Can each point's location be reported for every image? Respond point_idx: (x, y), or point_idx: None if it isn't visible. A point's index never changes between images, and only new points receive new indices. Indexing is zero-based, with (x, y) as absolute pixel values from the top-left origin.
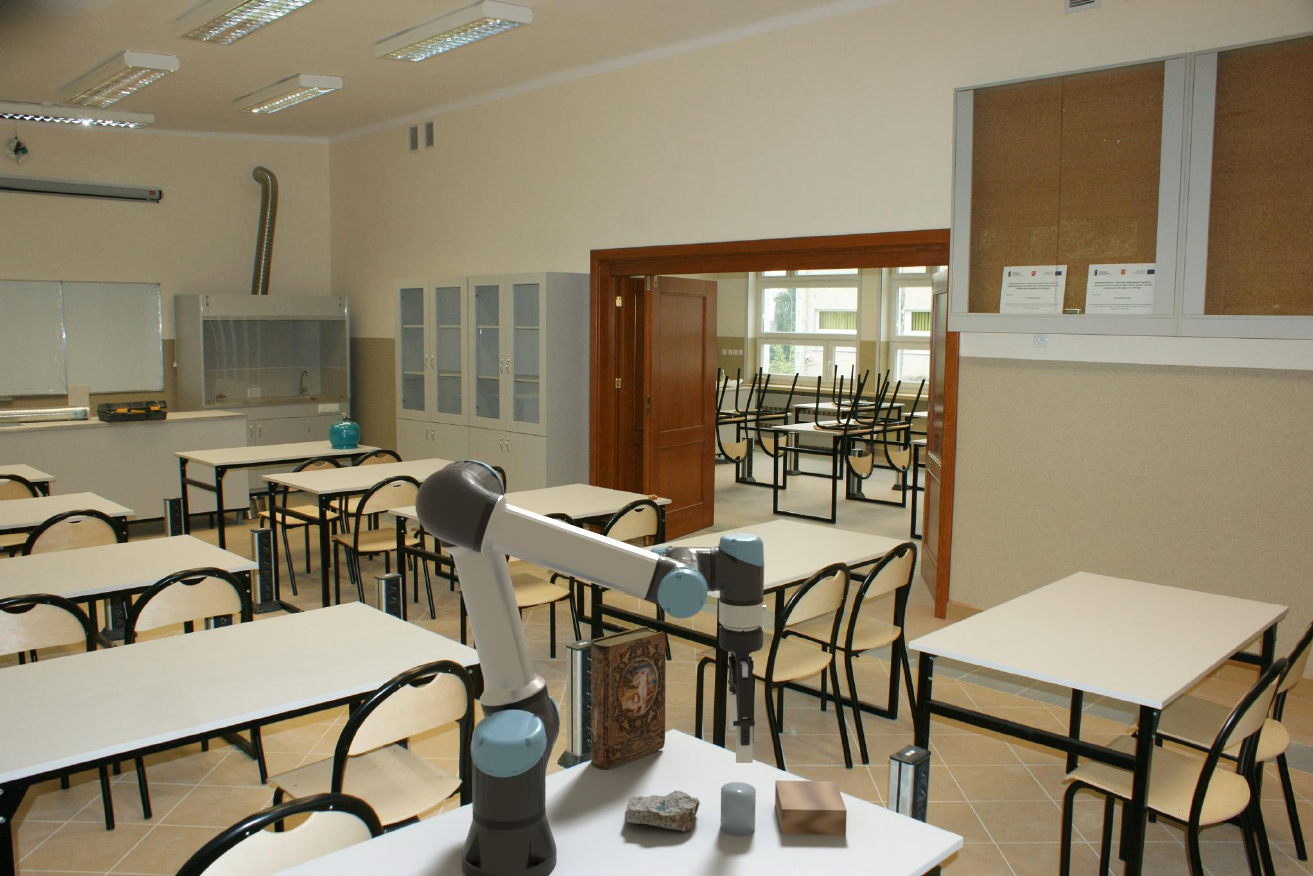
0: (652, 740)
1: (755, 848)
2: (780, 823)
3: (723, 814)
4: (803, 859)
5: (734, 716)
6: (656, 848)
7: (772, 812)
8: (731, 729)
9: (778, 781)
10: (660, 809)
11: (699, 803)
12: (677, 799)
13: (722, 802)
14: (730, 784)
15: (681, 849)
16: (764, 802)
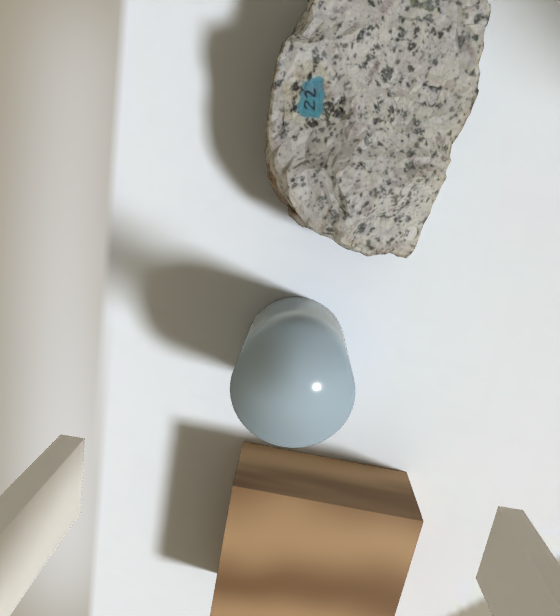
0: None
1: (186, 361)
2: (273, 456)
3: (275, 314)
4: (126, 455)
5: (527, 600)
6: (213, 80)
7: (367, 454)
8: (497, 519)
9: (414, 527)
10: (302, 94)
11: (364, 254)
12: (330, 166)
13: (281, 322)
14: (340, 376)
15: (200, 159)
16: (427, 450)
